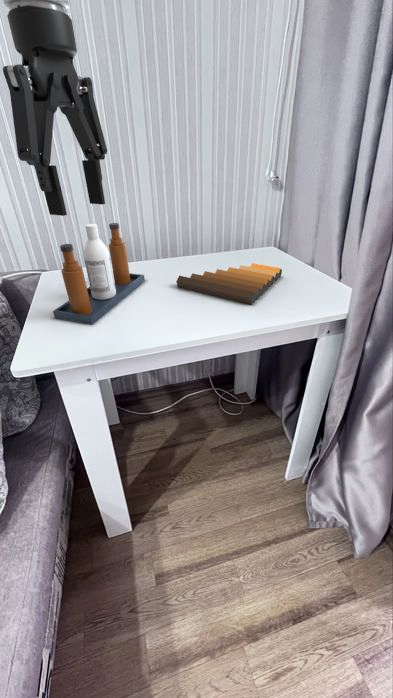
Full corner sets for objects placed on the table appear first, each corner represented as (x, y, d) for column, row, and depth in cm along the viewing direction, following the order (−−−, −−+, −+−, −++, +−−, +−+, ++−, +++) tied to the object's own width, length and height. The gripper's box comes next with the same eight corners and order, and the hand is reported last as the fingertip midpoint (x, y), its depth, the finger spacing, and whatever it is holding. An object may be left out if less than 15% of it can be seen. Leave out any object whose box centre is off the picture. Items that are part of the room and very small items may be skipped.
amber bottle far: (118, 286, 101) (108, 226, 91) (112, 281, 104) (102, 223, 94) (132, 282, 103) (125, 224, 93) (127, 277, 106) (119, 221, 96)
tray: (92, 324, 82) (90, 317, 81) (54, 318, 85) (52, 311, 84) (144, 280, 105) (144, 274, 104) (113, 277, 108) (112, 271, 107)
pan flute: (176, 287, 100) (250, 305, 89) (176, 277, 98) (251, 294, 87) (215, 263, 118) (281, 276, 107) (215, 254, 116) (282, 266, 105)
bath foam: (103, 289, 99) (90, 220, 88) (121, 293, 96) (110, 223, 85) (87, 298, 94) (71, 226, 82) (105, 302, 91) (91, 229, 80)
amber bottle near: (75, 318, 83) (57, 249, 73) (70, 311, 87) (52, 244, 77) (94, 313, 85) (79, 246, 75) (88, 306, 89) (74, 241, 79)
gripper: (-19, -24, 30) (47, 225, 43) (115, 29, 47) (134, 199, 59) (-70, -11, 33) (7, 221, 46) (74, 35, 49) (101, 196, 62)
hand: (79, 208), depth 52 cm, fingers open, 9 cm apart
